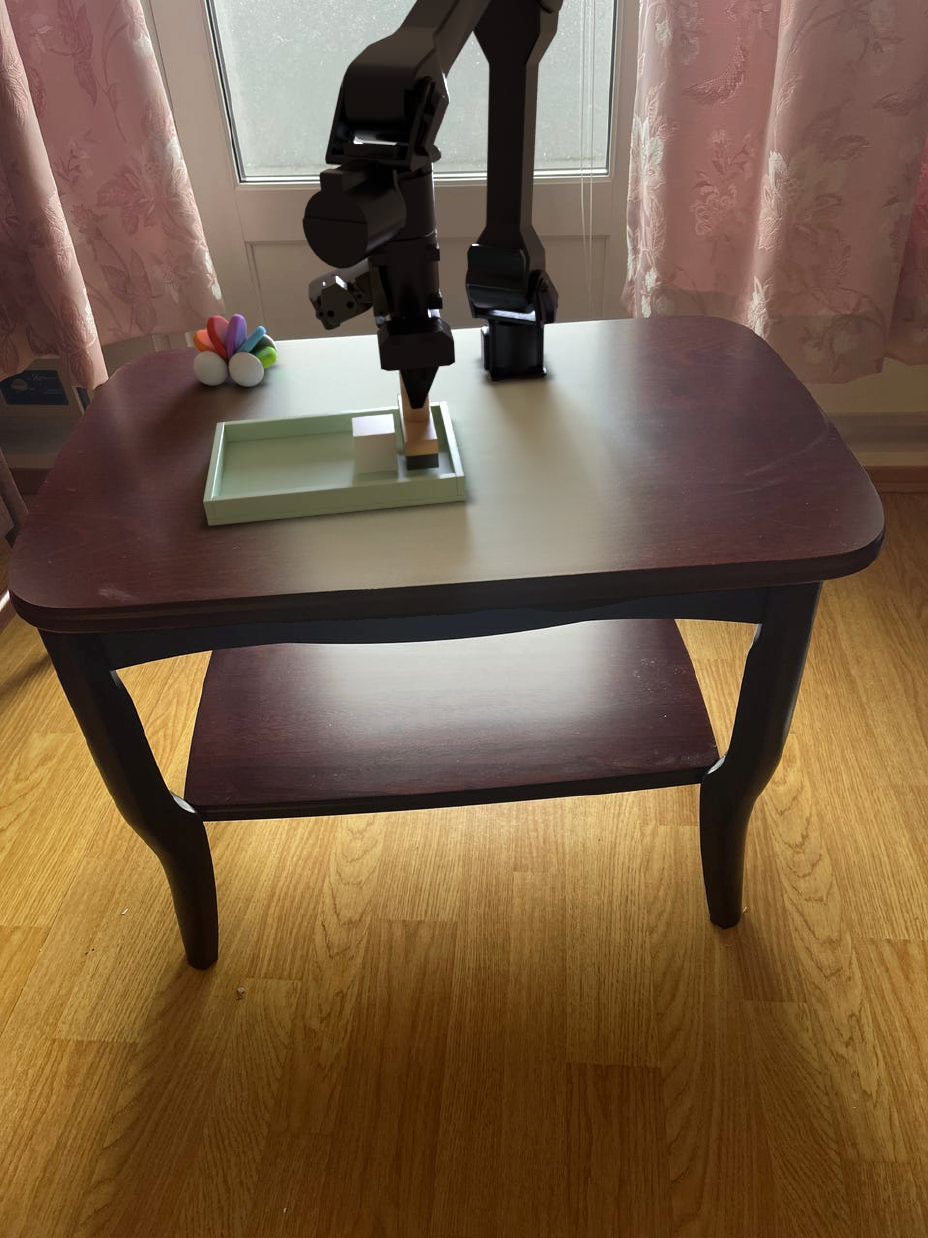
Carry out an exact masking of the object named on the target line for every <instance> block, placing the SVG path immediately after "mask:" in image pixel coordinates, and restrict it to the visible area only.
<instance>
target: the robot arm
mask: <svg viewBox="0 0 928 1238" xmlns="http://www.w3.org/2000/svg"><path fill="white" fill-rule="evenodd" d="M563 4H564V0H416V1H415V2H414V4H413V5H412V7H411V9H410V10H409V12H408V13H407V15H406V16H405V18H404V20H403V21H402V22H401V24H400V25H399V27H398V28H397V29H396V30H395V31H394V32H393V33H392V34H389V35H388V36H385V37H383V38H381V39H379V40H376V41H373V42H372V43H369V44H368V45H367V46H366V47H365V48H364V49H363V50H362V51H361V52H360V53H359V54H358V55H356V57H354V59H353V60H351V61H350V63H349V64H348V66H347V67H346V69H345V72H344V74H343V76H342V81H341V82H340V87H339V91H338V95H337V99H336V104H335V109H334V114H333V118H332V123H331V128H330V133H329V138H328V142H327V145H326V146H327V147H326V152H325V156H324V161H325V164H326V165H331V166H337V167H334V168H326V169H325V170H322V171H320V172H319V176H318V178H319V186H320V190H319V191H317V192H315V193H314V194H313V195H312V196H311V197H309V199H308V200H307V203H306V206H305V208H304V213H303V214H304V215H303V218H302V221H301V223H302V229H303V234H304V236H305V239H306V242H307V245H308V246H309V247H310V249H311V250H312V252H313V254H314V255H315V256H316V257H317V258H318V259H319V260H320V261H321V262H323V263H325V264H326V265H327V266H330V267H332V268H335V269H332V270H331V271H328V272H326V273H324V274H322V275H320V276H318V277H316V278H314V279H312V280H311V281H310V282H309V283H308V288H307V289H308V291H307V292H308V293H307V295H308V297H307V298H308V299H309V301H310V303H311V305H312V307H313V309H314V311H315V319H317V320H318V321H320V322H321V324H322V326H323V328H324V329H325V330H326V331H332V330H336V329H337V328H339V327H340V326H341V324H342V323H345V322H346V321H350V320H352V319H353V318H355V317H357V316H360V315H362V314H364V313H366V312H368V311H369V310H370V309H372V313H373V317H374V322H375V326H376V328H378V330H376V339H377V349H378V356H379V365H380V370H383V371H386V372H395V371H396V372H397V371H399V370H400V373H401V377H402V380H403V383H404V386H405V390H406V393H407V396H408V399H409V403H410V406H411V408H412V409H421V408H423V406H424V404H425V401H426V399H427V396H428V394H429V393H430V391H431V389H432V386H433V383H434V380H435V378H436V376H437V373H438V371H439V368H440V367H449V366H451V365H453V364H455V363H456V350H455V349H456V348H455V347H456V346H455V339H454V335H453V332H452V329H451V326H450V325H449V324H448V323H447V322H446V321H445V320H443V318H441V314H440V310H443V309H444V303H443V295H442V292H441V289H440V273H439V272H440V271H439V262H441V251H440V246H439V243H438V239H437V236H438V235H437V223H436V205H435V187H434V172H433V170H434V169H433V164H435V163H437V162H439V161H440V160H441V159H442V151H441V150H440V148H438V146H436V144H435V142H436V139H437V136H438V133H439V131H440V128H441V126H442V123H443V121H444V118H445V114H446V112H447V109H448V106H449V105H450V103H451V102H450V101H451V100H450V94H449V91H448V85H447V78H448V77H449V73H450V71H451V69H452V67H453V65H454V63H455V62H456V61H457V59H458V57H459V55H460V53H461V52H462V50H463V49H464V47H465V45H466V44H467V42H468V40H469V38H470V36H471V35H472V34H473V35H474V37H475V39H476V42H477V43H478V45H479V48H480V49H481V51H482V53H483V55H484V58H485V59H486V61H487V63H488V93H487V94H488V97H487V140H486V141H487V143H486V144H487V146H486V148H487V149H486V192H485V193H486V196H485V198H486V199H485V204H486V205H485V226H484V227H483V229H482V231H481V233H480V234H479V236H478V238H477V240H476V241H475V243H474V244H470V245H469V247H468V250H467V252H466V258H467V259H466V260H467V270H466V274H465V280H464V287H465V292H466V297H467V301H468V305H469V310H470V313H471V318H472V319H474V320H478V319H479V320H480V319H481V320H484V322H485V323H484V325H485V326H483V327H481V328H480V350H481V351H480V356H481V357H480V358H481V364H482V367H483V370H484V371H486V372H487V374H488V376H489V379H490V381H492V382H500V381H511V380H512V381H513V380H523V379H533V378H534V379H535V378H543V377H547V376H548V370H547V368H546V366H545V363H544V362H545V360H544V359H545V358H544V357H545V353H544V352H545V325H549V324H554V323H555V322H556V321H557V311H558V308H559V297H560V295H559V291H558V290H557V289H556V286H555V285H554V283H553V281H552V279H551V277H550V275H549V273H548V272H547V271H546V263H547V262H546V249H545V247H544V245H543V243H542V241H541V239H540V237H539V235H538V234H537V231H536V229H535V227H534V226H533V202H534V201H533V200H534V179H535V177H534V175H535V157H536V156H535V153H536V136H537V135H536V134H537V133H536V132H537V109H538V91H539V90H538V88H539V67H540V63H541V61H542V60H543V58H544V56H545V54H546V52H547V51H548V49H549V47H550V46H551V44H552V43H553V40H554V38H555V37H556V35H557V33H558V27H559V17H560V11H561V10H562V7H563ZM356 138H357V139H358V140H360V141H364V142H357V141H355V140H356ZM373 142H376V143H373ZM385 143H387V144H385ZM388 143H391V144H388ZM393 143H394V144H393ZM429 395H430V394H429Z"/></svg>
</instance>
